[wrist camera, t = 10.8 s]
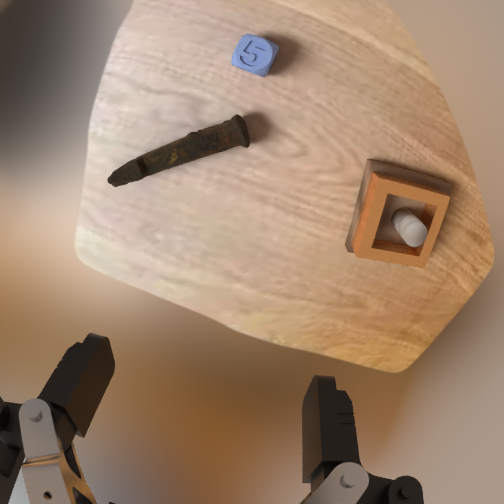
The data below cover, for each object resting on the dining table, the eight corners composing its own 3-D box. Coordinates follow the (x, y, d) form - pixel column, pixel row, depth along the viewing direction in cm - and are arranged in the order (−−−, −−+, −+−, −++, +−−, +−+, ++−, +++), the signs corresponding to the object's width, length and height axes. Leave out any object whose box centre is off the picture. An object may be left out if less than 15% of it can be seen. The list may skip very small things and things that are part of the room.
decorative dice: (279, 49, 30) (279, 44, 27) (265, 78, 32) (264, 76, 28) (247, 37, 30) (243, 30, 26) (233, 66, 31) (228, 63, 28)
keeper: (367, 159, 35) (384, 173, 29) (445, 180, 35) (471, 198, 29) (344, 244, 41) (355, 272, 35) (419, 257, 41) (437, 284, 35)
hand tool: (244, 112, 34) (239, 114, 30) (252, 143, 36) (249, 149, 32) (110, 157, 38) (93, 165, 34) (120, 183, 40) (104, 194, 36)
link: (371, 171, 34) (379, 177, 31) (439, 189, 34) (450, 197, 31) (351, 245, 39) (356, 256, 36) (416, 256, 39) (424, 268, 36)
